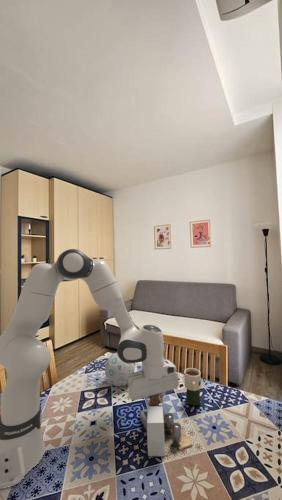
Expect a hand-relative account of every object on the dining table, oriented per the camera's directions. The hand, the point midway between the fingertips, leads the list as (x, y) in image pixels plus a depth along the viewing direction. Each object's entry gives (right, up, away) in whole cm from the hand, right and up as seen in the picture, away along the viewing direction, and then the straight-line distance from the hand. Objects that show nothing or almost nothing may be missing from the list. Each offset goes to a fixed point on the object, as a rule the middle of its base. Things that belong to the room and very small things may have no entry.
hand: (154, 404), depth 83 cm
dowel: (0, -3, 0) cm, 3 cm away
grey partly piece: (0, -7, -1) cm, 7 cm away
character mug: (+18, -7, +10) cm, 21 cm away
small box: (0, -7, -11) cm, 13 cm away
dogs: (+7, -6, -7) cm, 12 cm away
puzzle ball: (-16, -8, +26) cm, 31 cm away
